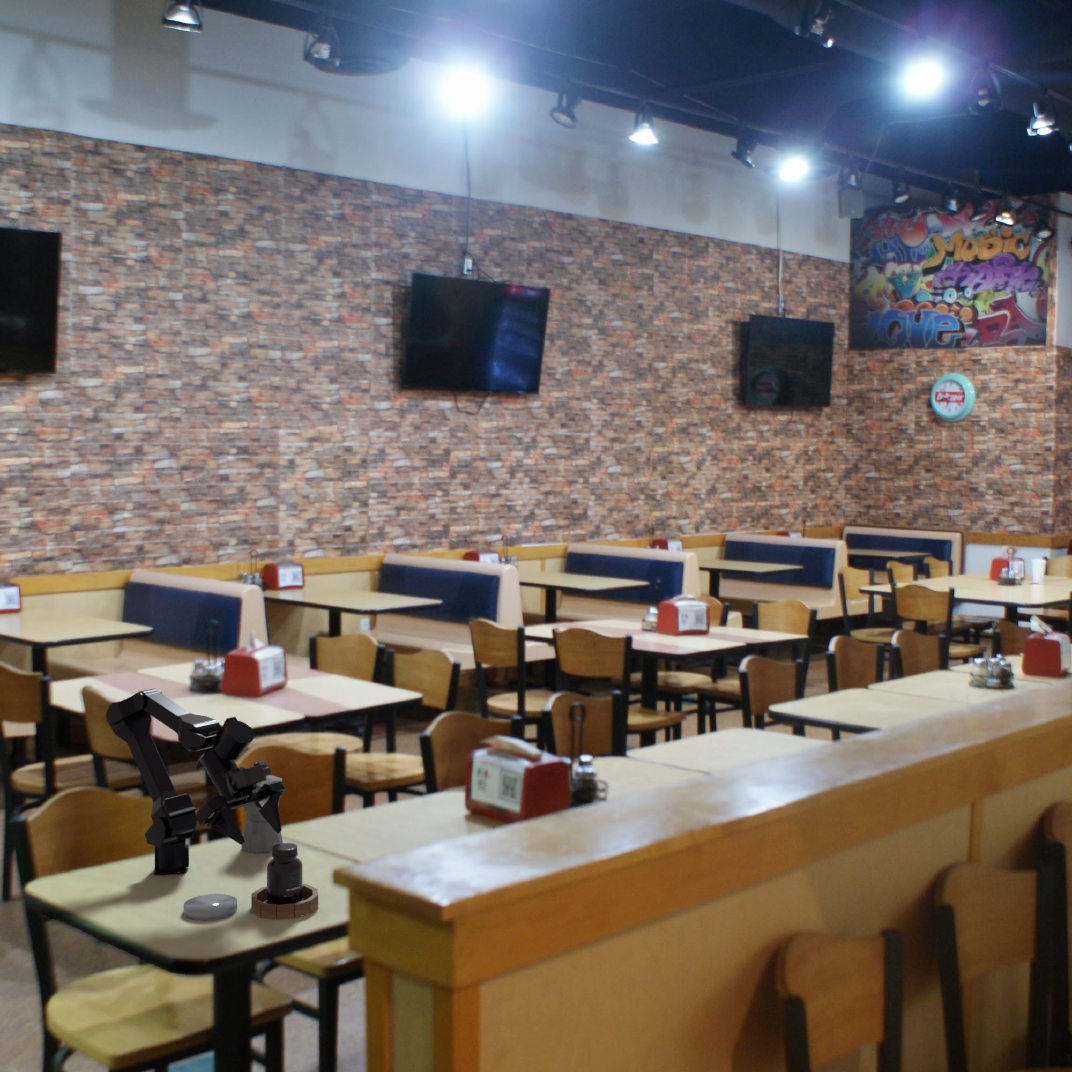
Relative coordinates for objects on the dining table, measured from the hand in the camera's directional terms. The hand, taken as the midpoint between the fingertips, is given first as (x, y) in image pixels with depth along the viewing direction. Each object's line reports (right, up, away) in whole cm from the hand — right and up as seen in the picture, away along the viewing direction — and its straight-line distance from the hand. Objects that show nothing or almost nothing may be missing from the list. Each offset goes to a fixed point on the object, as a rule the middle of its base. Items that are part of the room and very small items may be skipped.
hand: (261, 837), depth 245 cm
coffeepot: (-8, -10, +35) cm, 37 cm away
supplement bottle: (+5, -13, -3) cm, 14 cm away
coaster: (-9, -13, -5) cm, 16 cm away
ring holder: (+5, -13, -3) cm, 14 cm away
